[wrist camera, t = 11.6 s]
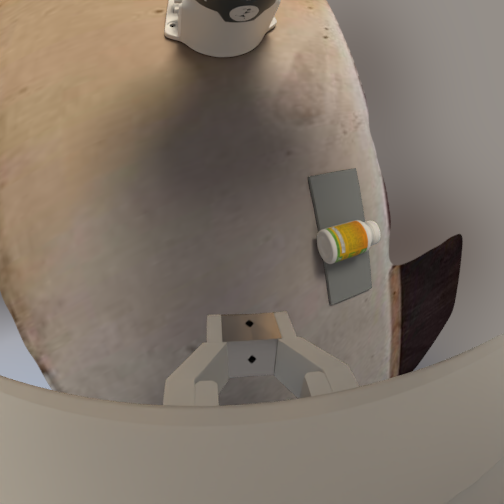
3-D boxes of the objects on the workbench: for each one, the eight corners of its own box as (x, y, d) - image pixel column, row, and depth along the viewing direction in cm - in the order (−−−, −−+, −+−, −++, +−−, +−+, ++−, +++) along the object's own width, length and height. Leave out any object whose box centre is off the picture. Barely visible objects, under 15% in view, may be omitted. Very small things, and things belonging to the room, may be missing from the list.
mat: (307, 177, 42) (309, 176, 41) (353, 168, 43) (355, 168, 42) (329, 303, 47) (331, 304, 46) (369, 286, 49) (371, 288, 48)
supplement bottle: (336, 265, 38) (386, 247, 40) (327, 228, 38) (378, 214, 40) (321, 264, 43) (368, 248, 45) (312, 231, 43) (360, 218, 45)
